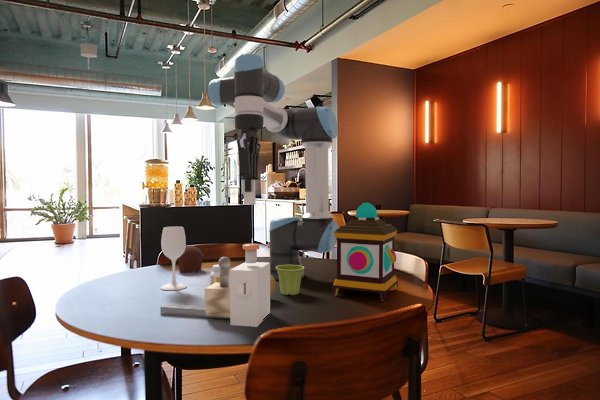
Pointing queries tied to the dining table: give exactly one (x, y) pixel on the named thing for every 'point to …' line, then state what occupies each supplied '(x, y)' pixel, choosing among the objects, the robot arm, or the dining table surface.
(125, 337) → the dining table surface
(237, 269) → the end cabinet
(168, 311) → the rail track
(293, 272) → the plant pot
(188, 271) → the muffin
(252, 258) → the orange mushroom
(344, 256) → the decorative lantern
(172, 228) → the wineglass
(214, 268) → the supplement bottle
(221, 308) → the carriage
